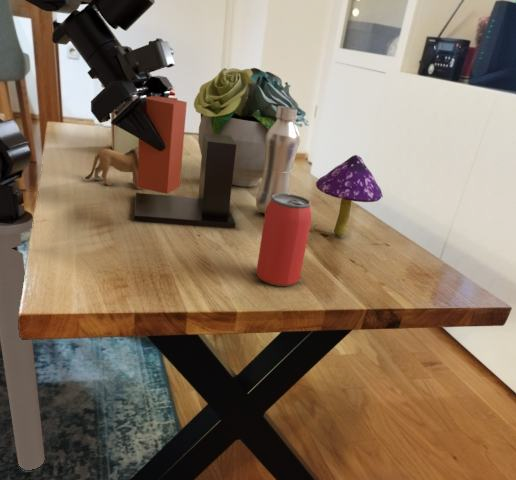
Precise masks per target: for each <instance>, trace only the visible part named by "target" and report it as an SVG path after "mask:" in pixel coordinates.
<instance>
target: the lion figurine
mask: <svg viewBox="0 0 516 480" xmlns="http://www.w3.org/2000/svg"><path fill="white" fill-rule="evenodd" d="M98 161H99V163H98ZM138 162H139V147H137V148H133V149H132V150H130V151H129V152H127V153H118V152H115V151H113V149H110V148H103V149H100V150H99V151H98V152H97V153H96V155H95V157H94V160H93V164H92V167H91V171H90V173H89V174H88V175H87V176H85V177H84V179H85V180H90V179H91V178H92V177H93V178H94V179H95V180H96V181H101V180H103V183H104V184H105V185H106V186H111V185H112V181H109V180H108V178H107V175H108V173H109V170H110V167H113V168H114V169H115V170H117V171H119V172H123V173H132V184H133V185H134V188H135V189H137V190H141V189H142V188H138V187H137V185H138ZM97 164H98V166H97ZM101 172H102V173H101ZM100 173H101V176H99V174H100Z"/></svg>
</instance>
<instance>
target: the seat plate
mask: <svg viewBox="0 0 516 480" xmlns="http://www.w3.org/2000/svg"><path fill="white" fill-rule="evenodd" d="M235 154H236V143H235V142H234V140H233V139H232V138H231V136H229V135H220V134H212V133H203V145H202V155H201V159H200V173H199V183H198V184H199V185H198V196H197V197H192V196H191V197H190V196H181V195H179V196H178V195H169V194H157V193H145V192H144V193H143V192H135V199H134V214H133V215H134V217H133V220H134V222H142V223H143V222H144V223H156V224H157V223H158V224H171V225H183V226H197V227H210V228H211V227H212V228H222V229H223V228H225V229H236V227H237V223H236V221H235V219H234V216H233V214H232V211H231V209H230V208H231V207H230V206H231V199H232V198H231V197H232V189H233V185H232V180H233V171H234V162H235Z"/></svg>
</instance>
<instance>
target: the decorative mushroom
mask: <svg viewBox="0 0 516 480" xmlns="http://www.w3.org/2000/svg"><path fill="white" fill-rule="evenodd" d="M315 187H316V188H317V190H319V192H322V193H323V194H325V195H328V196H331V197H334V198H338V199H341V200H340V204H339V211H338V215H337V219H336V224H335V226H334V229H333V233H334V234H335V235H336V236H337V237H342V236H343V235H344V234H345V231H346V228H347V225H348V221H349V218H350V214H351V213H350V212H351V207H352V202H360V203H374V202H378V201H379V200H381V199H382V198H383V197H384V196H383V192H382V189H381V188H380V185H378V183H377V180H376V179H375V176H374V175H373V173H372V172H371V171H370V169H369V168H368V167H367V165H366V164H365V162H364V160H363V158H362V157H361V156H360V155H358V154H354V155H352V156H351V157H349V158H348V159H346V160H345V161H343V162H342V163H340V164H338V165H336V166H335V167H334V168H332V169H331V170H330V171H328V173H326V174H325V175H323V176H321V177H319V179H317V181H316V183H315Z"/></svg>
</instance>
